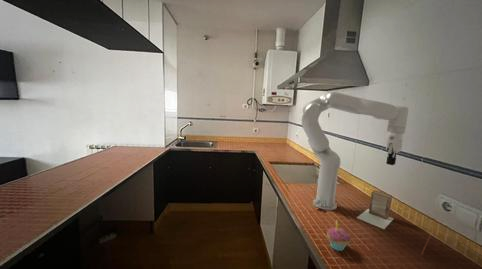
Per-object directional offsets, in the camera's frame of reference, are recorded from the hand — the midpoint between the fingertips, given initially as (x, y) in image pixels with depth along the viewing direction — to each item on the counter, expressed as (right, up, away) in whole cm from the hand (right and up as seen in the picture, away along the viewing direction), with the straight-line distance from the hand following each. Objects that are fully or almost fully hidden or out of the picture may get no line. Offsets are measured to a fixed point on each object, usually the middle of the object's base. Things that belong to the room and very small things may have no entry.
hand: (390, 164), depth 108 cm
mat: (-11, -27, -5) cm, 30 cm away
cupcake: (-42, -29, -28) cm, 58 cm away
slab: (-8, -27, -2) cm, 28 cm away
